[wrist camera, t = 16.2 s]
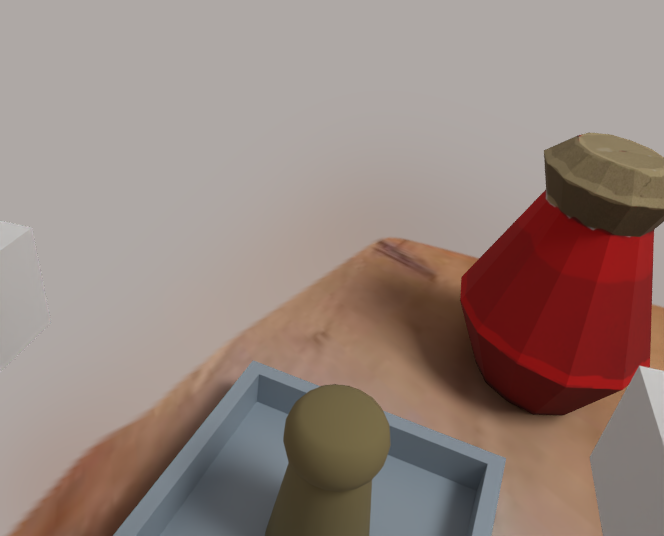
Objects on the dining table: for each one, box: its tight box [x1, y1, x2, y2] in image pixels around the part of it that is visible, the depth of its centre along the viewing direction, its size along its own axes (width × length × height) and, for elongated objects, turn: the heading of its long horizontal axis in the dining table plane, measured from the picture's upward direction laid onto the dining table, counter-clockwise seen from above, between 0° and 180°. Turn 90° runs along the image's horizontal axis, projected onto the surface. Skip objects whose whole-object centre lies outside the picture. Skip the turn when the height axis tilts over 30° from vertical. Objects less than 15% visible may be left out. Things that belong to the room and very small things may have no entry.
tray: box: [113, 361, 506, 536], centre depth 33 cm, size 18×18×4 cm
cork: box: [265, 384, 391, 536], centre depth 31 cm, size 6×6×11 cm
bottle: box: [460, 133, 664, 415], centre depth 44 cm, size 16×14×20 cm
